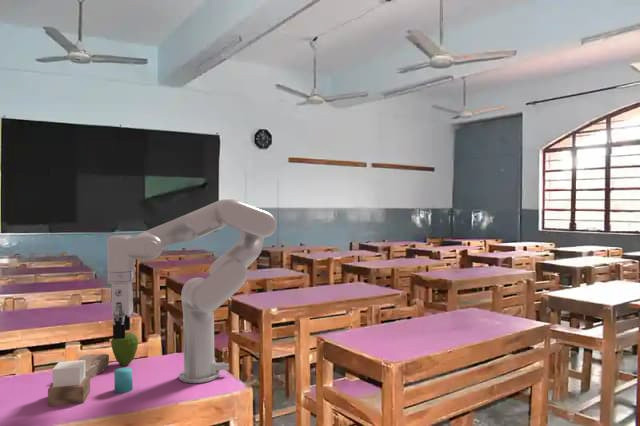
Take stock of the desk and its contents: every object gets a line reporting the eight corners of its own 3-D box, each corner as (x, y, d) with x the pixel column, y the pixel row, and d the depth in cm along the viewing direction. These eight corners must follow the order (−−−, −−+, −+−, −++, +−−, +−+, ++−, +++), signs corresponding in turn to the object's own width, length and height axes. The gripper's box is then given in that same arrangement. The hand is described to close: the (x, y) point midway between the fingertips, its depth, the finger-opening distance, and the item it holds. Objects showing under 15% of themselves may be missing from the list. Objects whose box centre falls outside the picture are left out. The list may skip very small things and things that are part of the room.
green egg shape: (143, 361, 177) (142, 329, 177) (127, 369, 169) (126, 335, 169) (122, 359, 180) (122, 327, 179) (106, 367, 171) (105, 333, 171)
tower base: (90, 392, 150) (90, 375, 150) (83, 404, 141) (83, 386, 141) (57, 395, 148) (56, 378, 148) (48, 407, 139) (47, 389, 139)
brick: (85, 384, 156) (85, 369, 156) (59, 384, 157) (58, 369, 157) (109, 367, 173) (109, 353, 173) (85, 367, 173) (85, 353, 173)
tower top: (85, 376, 149) (85, 359, 149) (80, 385, 142) (79, 367, 142) (59, 378, 147) (59, 361, 147) (52, 387, 140) (52, 369, 140)
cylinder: (133, 386, 154) (133, 366, 153) (131, 392, 149) (131, 372, 149) (116, 387, 152) (115, 368, 152) (113, 394, 148) (113, 373, 147)
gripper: (130, 280, 142) (131, 341, 143) (138, 272, 159) (138, 326, 159) (102, 281, 141) (102, 342, 141) (112, 273, 157) (113, 328, 158)
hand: (121, 334), depth 150 cm, fingers open, 9 cm apart
